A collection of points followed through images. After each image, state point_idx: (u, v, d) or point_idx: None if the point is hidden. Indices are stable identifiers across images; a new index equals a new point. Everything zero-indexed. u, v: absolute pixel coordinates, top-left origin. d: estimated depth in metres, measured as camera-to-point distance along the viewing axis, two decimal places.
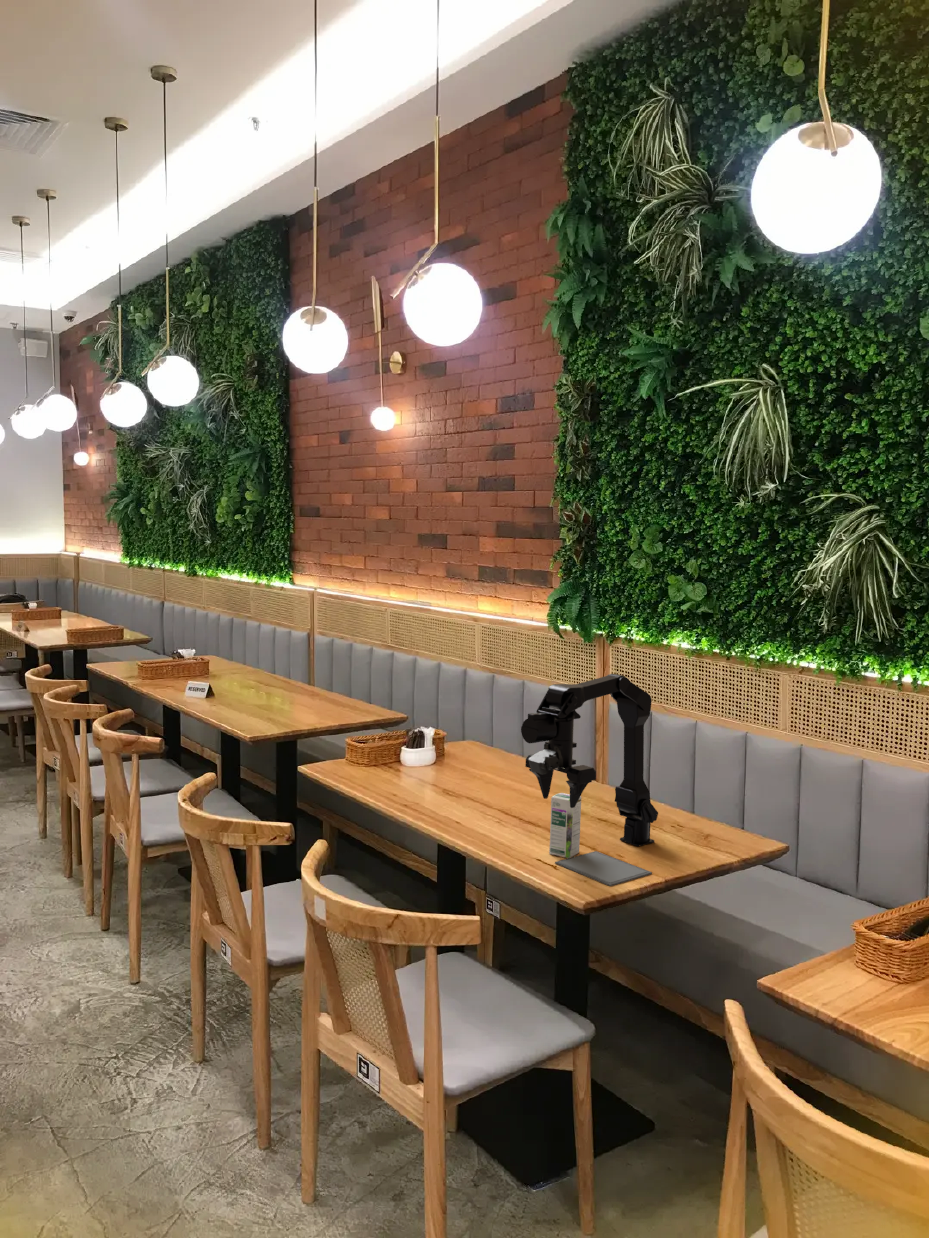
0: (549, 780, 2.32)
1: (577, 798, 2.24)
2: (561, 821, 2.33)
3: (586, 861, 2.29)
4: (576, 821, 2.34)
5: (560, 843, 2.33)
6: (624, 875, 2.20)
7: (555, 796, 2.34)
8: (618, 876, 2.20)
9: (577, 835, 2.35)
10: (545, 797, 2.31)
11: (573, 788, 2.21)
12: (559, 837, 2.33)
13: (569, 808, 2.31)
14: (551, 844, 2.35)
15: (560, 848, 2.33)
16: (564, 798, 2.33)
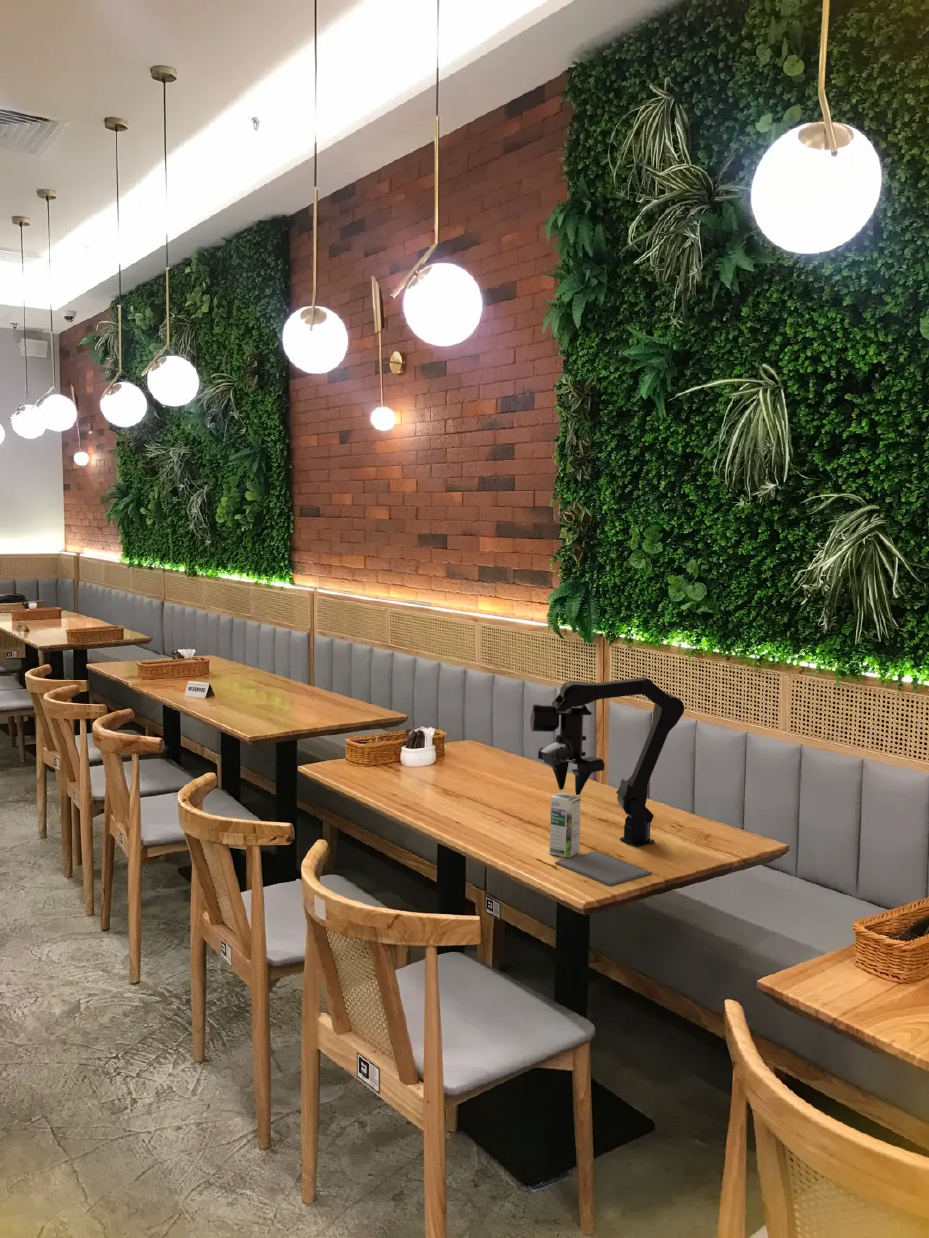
0: (564, 772, 2.46)
1: (582, 786, 2.41)
2: (560, 821, 2.33)
3: (586, 861, 2.29)
4: (575, 821, 2.34)
5: (560, 843, 2.33)
6: (624, 875, 2.20)
7: (554, 796, 2.34)
8: (618, 876, 2.20)
9: (577, 835, 2.35)
10: (561, 788, 2.46)
11: (578, 776, 2.39)
12: (559, 837, 2.33)
13: (568, 808, 2.31)
14: (551, 844, 2.35)
15: (560, 848, 2.33)
16: (564, 797, 2.33)
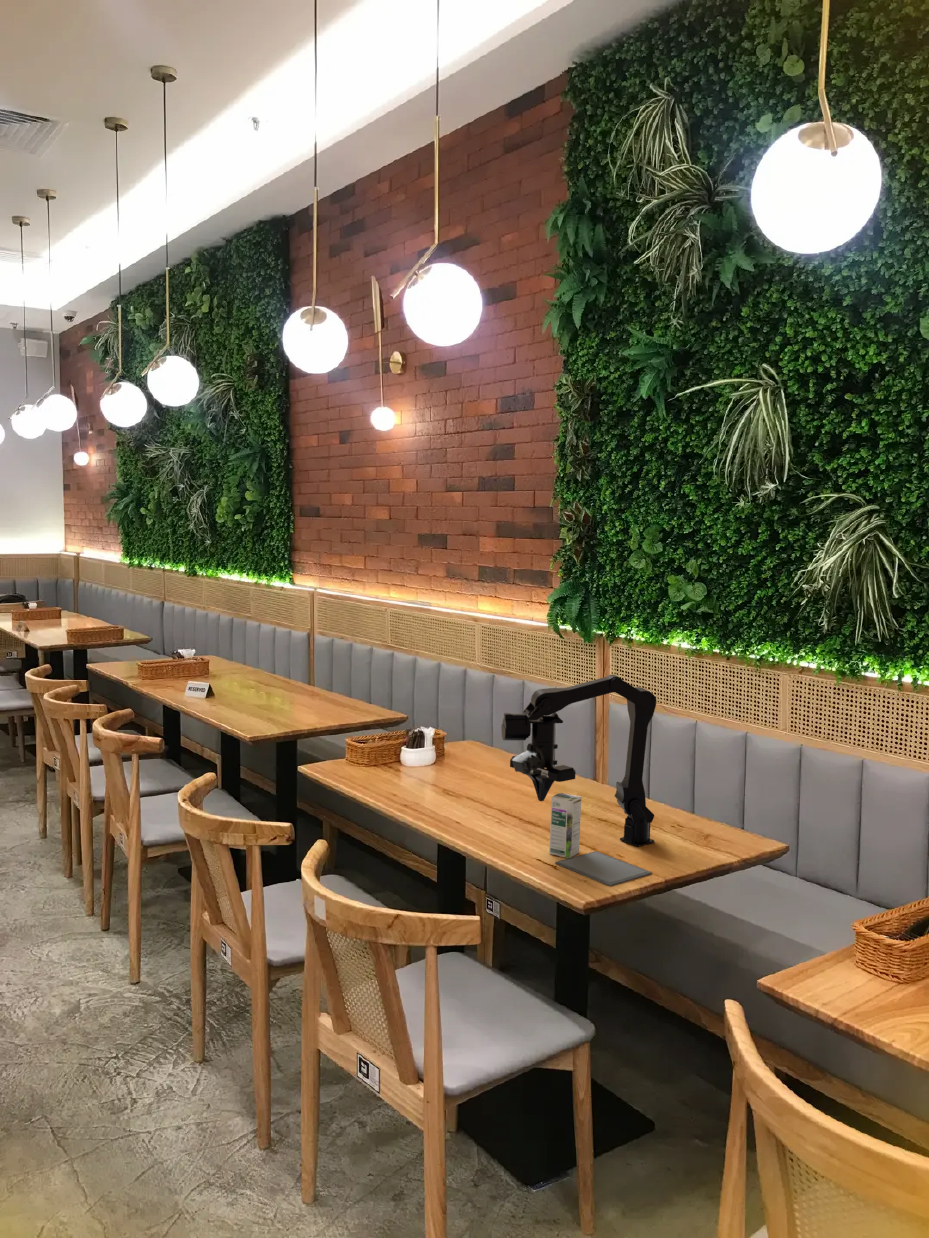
0: None
1: (546, 792, 2.41)
2: (561, 821, 2.33)
3: (586, 861, 2.29)
4: (576, 821, 2.34)
5: (560, 843, 2.33)
6: (624, 875, 2.20)
7: (555, 796, 2.34)
8: (618, 876, 2.20)
9: (577, 835, 2.35)
10: None
11: (542, 783, 2.39)
12: (559, 837, 2.33)
13: (569, 808, 2.31)
14: (551, 844, 2.34)
15: (560, 848, 2.33)
16: (564, 798, 2.33)
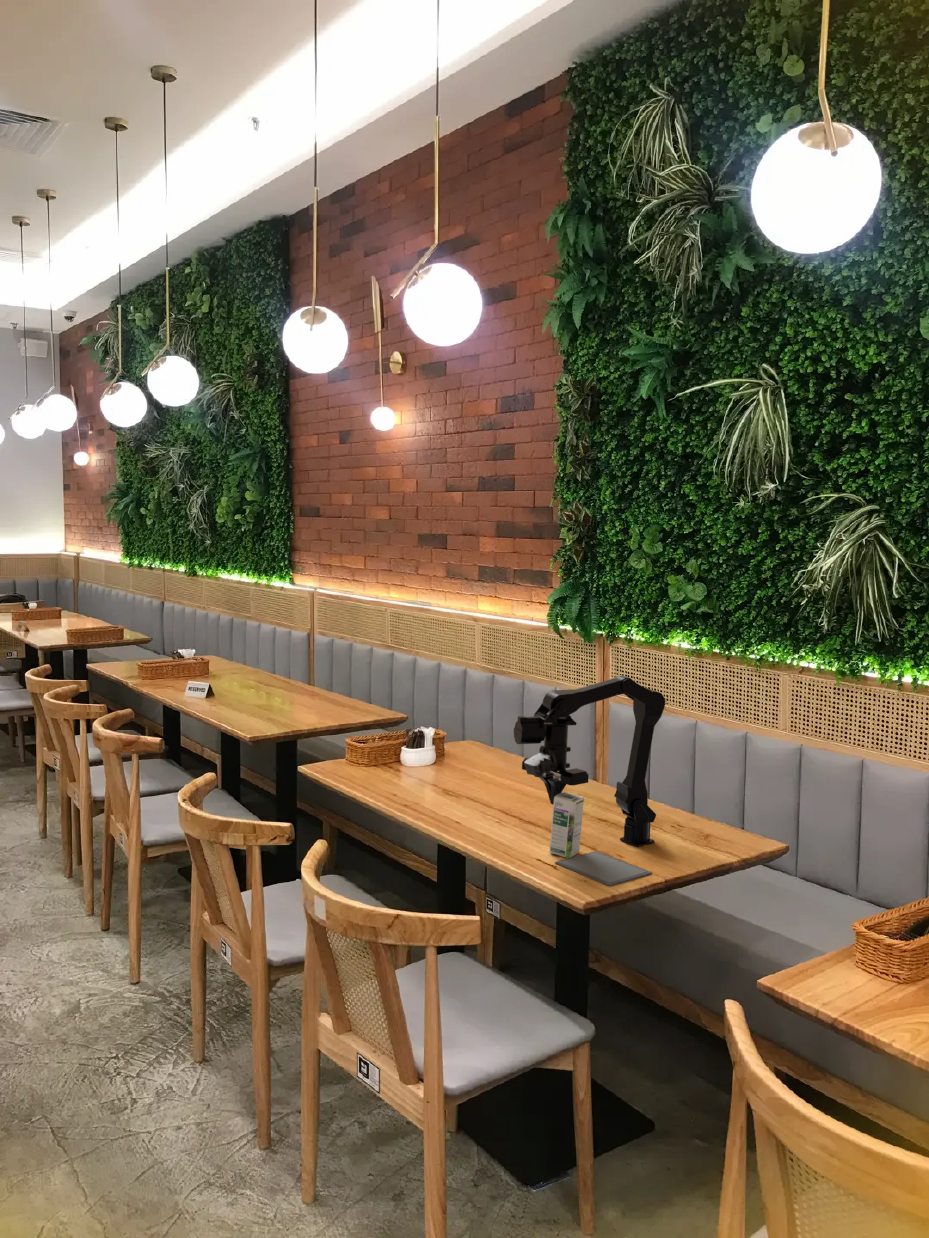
0: None
1: None
2: (562, 821, 2.32)
3: (586, 861, 2.29)
4: (577, 821, 2.33)
5: (560, 843, 2.33)
6: (624, 875, 2.20)
7: (558, 796, 2.34)
8: (618, 876, 2.20)
9: (578, 836, 2.35)
10: None
11: (554, 786, 2.36)
12: (560, 837, 2.33)
13: (571, 809, 2.31)
14: (552, 843, 2.34)
15: (561, 848, 2.33)
16: (567, 798, 2.32)
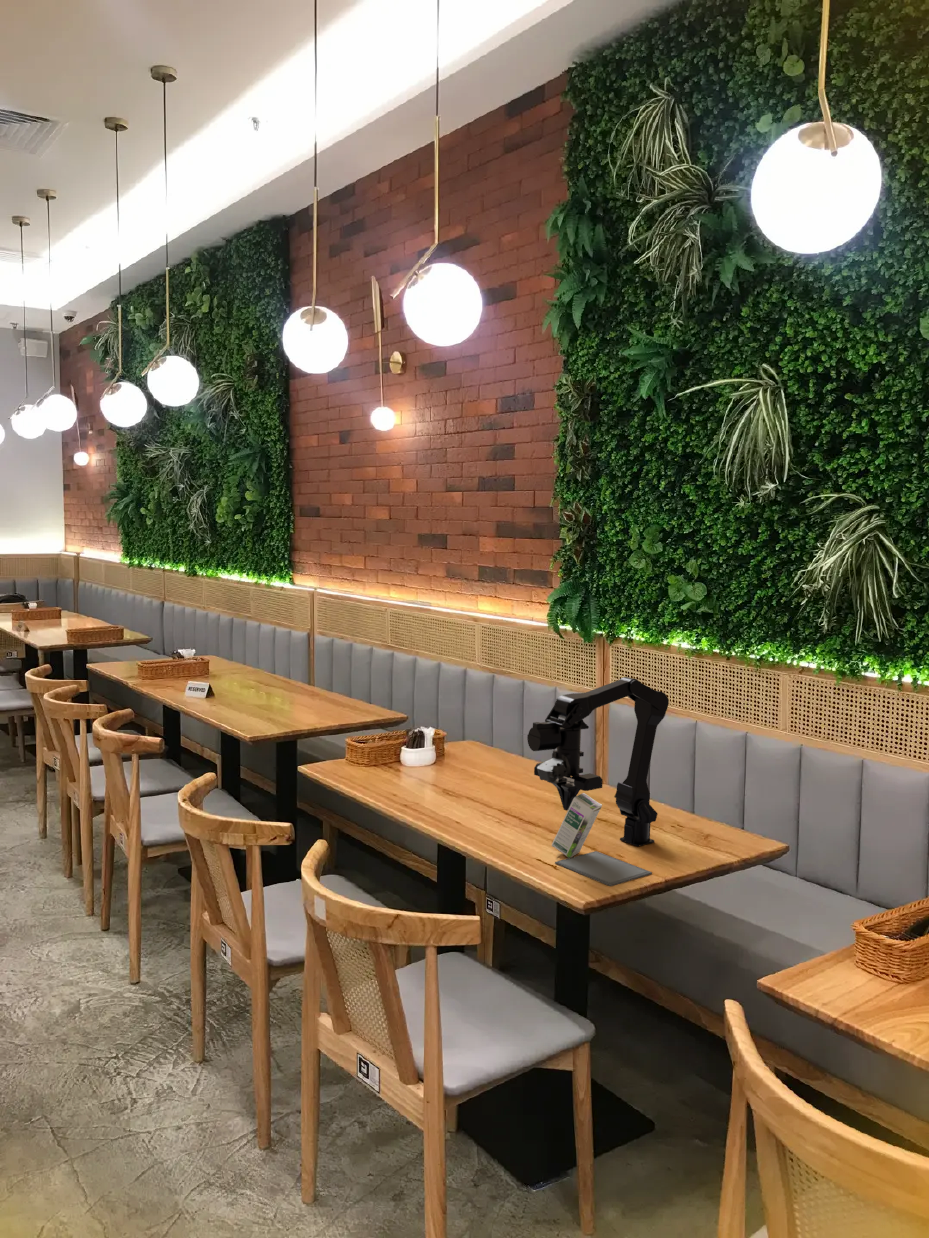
0: None
1: (571, 801, 2.34)
2: (574, 823, 2.31)
3: (586, 861, 2.29)
4: (588, 826, 2.32)
5: (565, 841, 2.32)
6: (624, 875, 2.20)
7: (578, 797, 2.31)
8: (618, 876, 2.20)
9: (584, 838, 2.34)
10: None
11: (567, 792, 2.32)
12: (567, 836, 2.32)
13: (588, 815, 2.29)
14: (556, 838, 2.34)
15: (564, 846, 2.32)
16: (586, 803, 2.30)
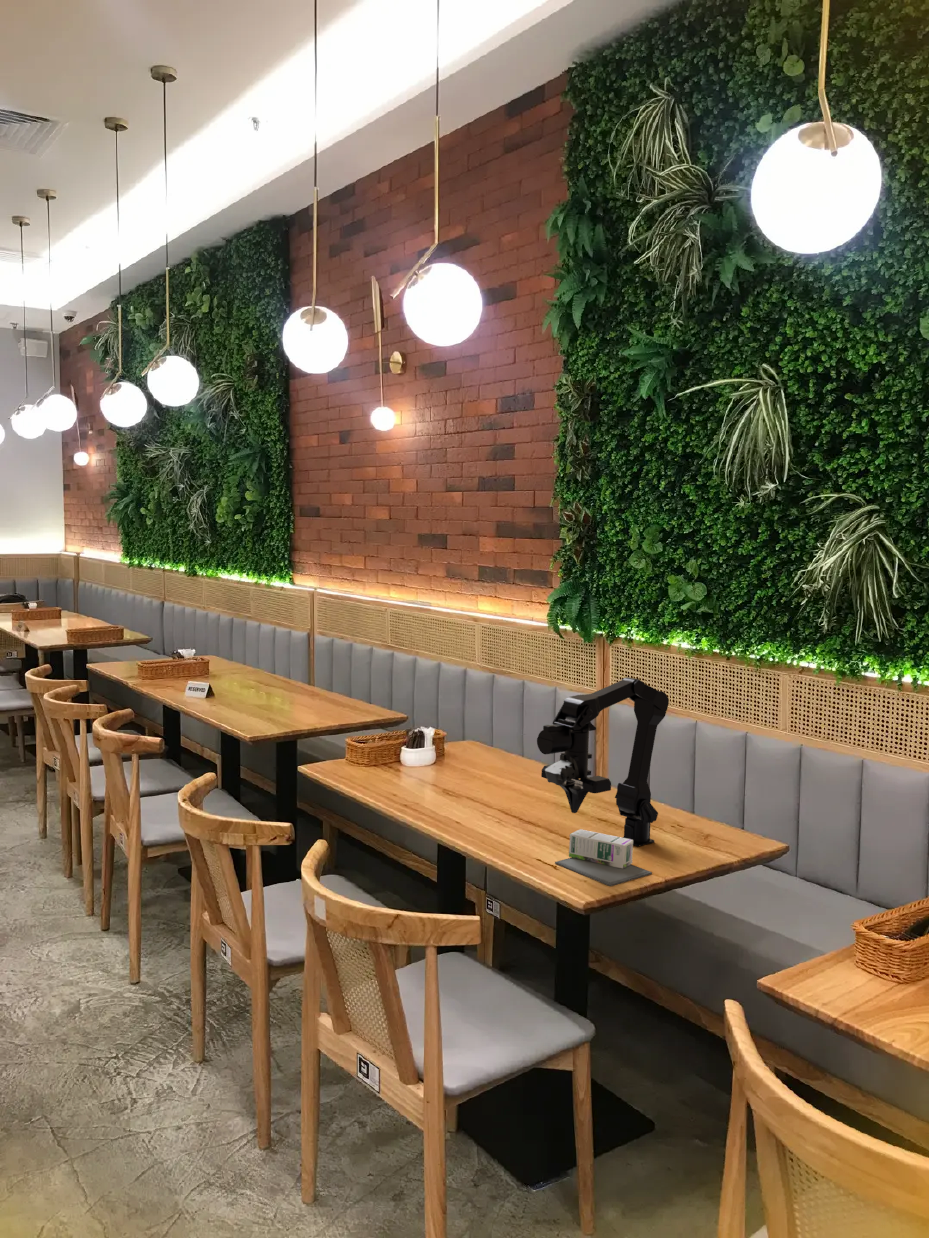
0: None
1: (579, 804, 2.32)
2: (601, 853, 2.27)
3: (586, 861, 2.29)
4: None
5: (580, 849, 2.30)
6: (624, 875, 2.20)
7: (625, 848, 2.24)
8: (618, 876, 2.20)
9: None
10: None
11: (575, 794, 2.30)
12: (586, 849, 2.29)
13: (615, 865, 2.25)
14: (578, 838, 2.30)
15: (576, 848, 2.31)
16: (625, 858, 2.25)
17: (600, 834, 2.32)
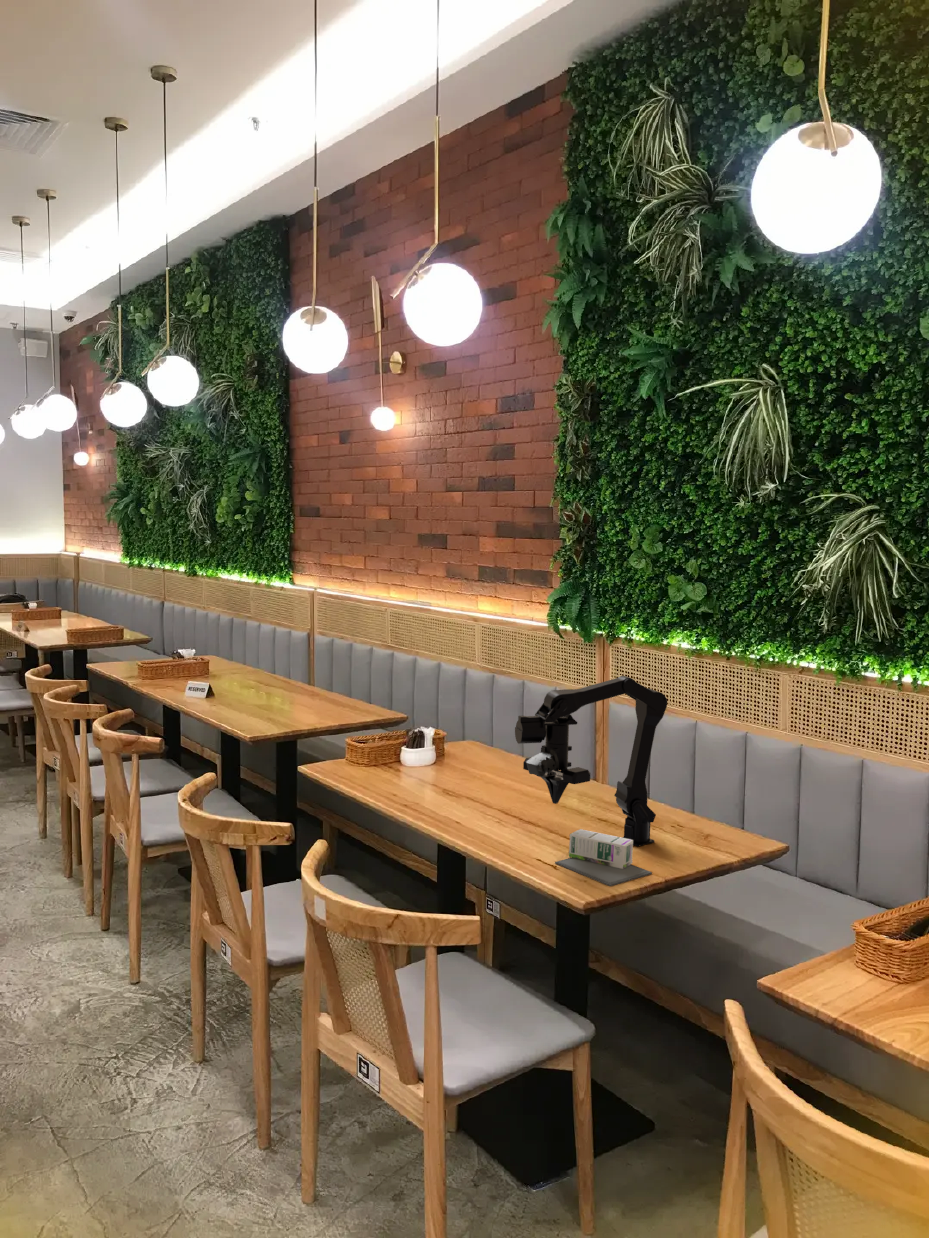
0: None
1: (560, 794, 2.39)
2: (601, 853, 2.27)
3: (586, 861, 2.29)
4: None
5: (580, 849, 2.30)
6: (624, 875, 2.20)
7: (625, 848, 2.24)
8: (618, 876, 2.20)
9: None
10: None
11: (556, 785, 2.37)
12: (586, 849, 2.29)
13: (615, 865, 2.25)
14: (578, 838, 2.30)
15: (575, 848, 2.31)
16: (625, 859, 2.25)
17: (600, 834, 2.32)
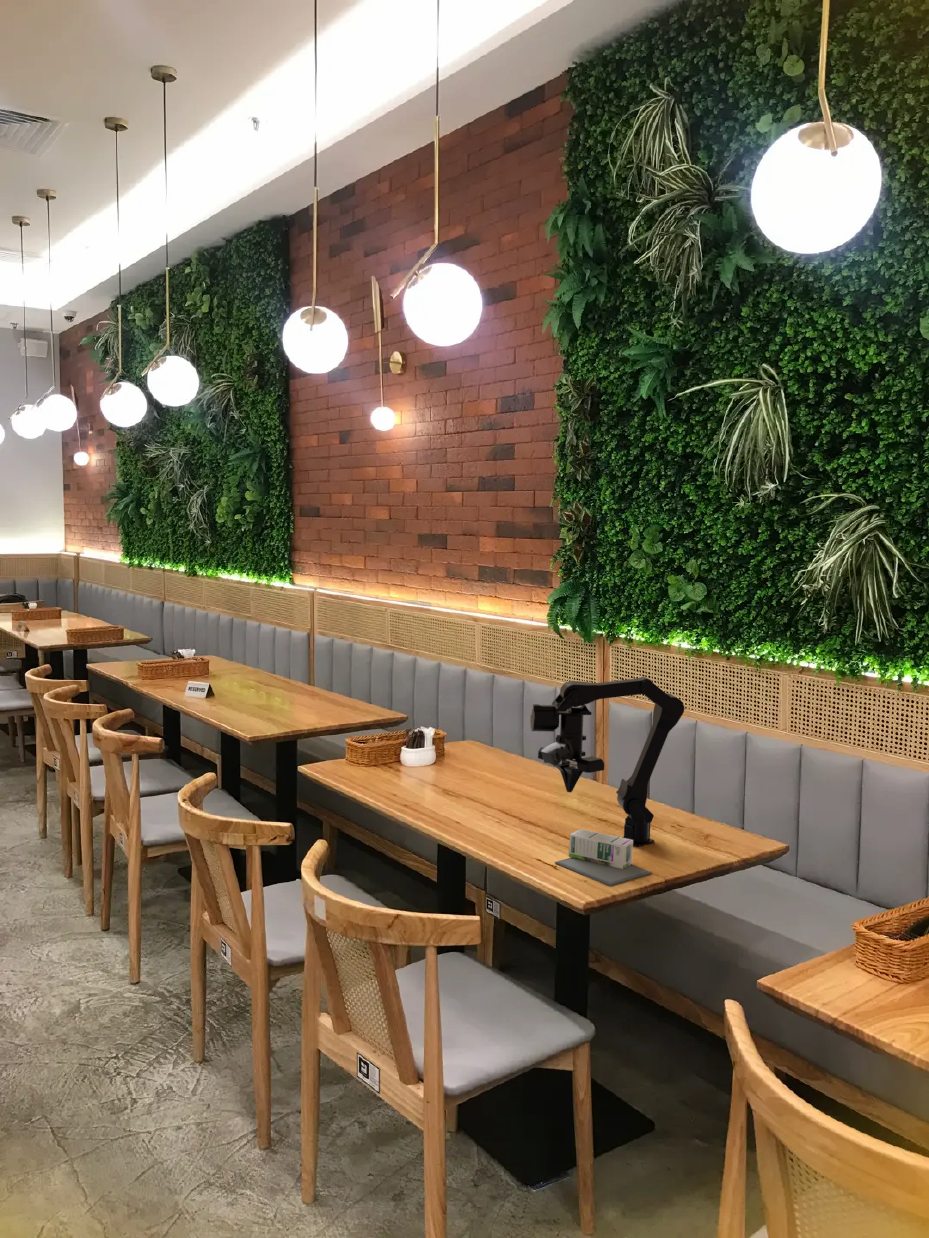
0: None
1: (574, 783, 2.43)
2: (601, 853, 2.27)
3: (586, 861, 2.29)
4: None
5: (580, 849, 2.30)
6: (624, 875, 2.20)
7: (625, 848, 2.24)
8: (618, 876, 2.20)
9: None
10: None
11: (570, 774, 2.41)
12: (586, 849, 2.29)
13: (615, 865, 2.25)
14: (578, 838, 2.30)
15: (575, 848, 2.31)
16: (625, 859, 2.25)
17: (600, 834, 2.32)
